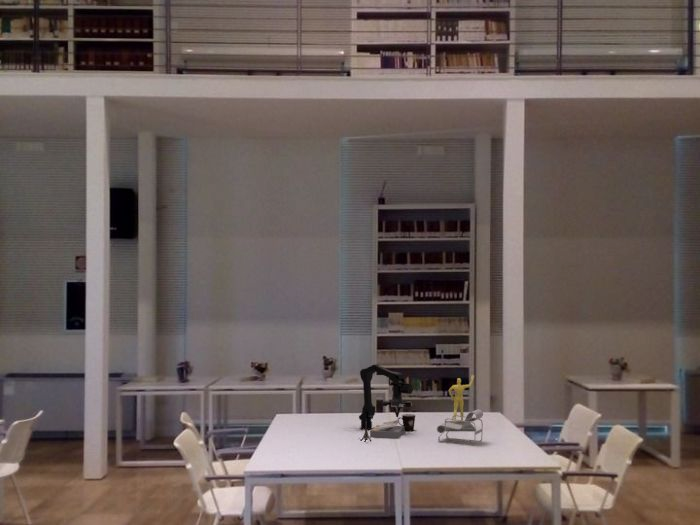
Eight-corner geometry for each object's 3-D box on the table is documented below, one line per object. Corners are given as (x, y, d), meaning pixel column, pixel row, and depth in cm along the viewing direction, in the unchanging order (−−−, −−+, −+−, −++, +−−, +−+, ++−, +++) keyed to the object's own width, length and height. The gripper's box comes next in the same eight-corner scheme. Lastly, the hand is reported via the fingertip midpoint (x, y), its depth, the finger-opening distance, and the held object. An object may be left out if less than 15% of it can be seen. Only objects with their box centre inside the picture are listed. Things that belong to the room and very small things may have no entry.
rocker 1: (383, 425, 515) (382, 423, 515) (384, 424, 518) (384, 422, 519) (398, 422, 512) (397, 420, 512) (399, 421, 516) (399, 419, 516)
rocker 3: (378, 429, 501) (378, 427, 501) (380, 428, 505) (379, 426, 505) (394, 426, 499) (393, 424, 499) (395, 425, 503) (395, 423, 503)
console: (370, 437, 500) (370, 428, 500) (377, 431, 522) (377, 422, 522) (398, 438, 496) (398, 429, 496) (404, 432, 517) (404, 423, 517)
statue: (472, 426, 541) (471, 373, 542) (477, 431, 521) (477, 376, 522) (442, 426, 540) (441, 373, 541) (446, 431, 521) (446, 376, 522)
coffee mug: (415, 429, 528) (415, 414, 528) (415, 431, 519) (415, 416, 519) (397, 429, 529) (397, 413, 529) (397, 431, 520) (397, 416, 521)
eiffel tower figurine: (359, 439, 498) (359, 417, 498) (375, 439, 496) (375, 418, 496) (354, 443, 483) (354, 421, 483) (371, 444, 481) (371, 422, 481)
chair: (476, 446, 474) (476, 412, 475) (436, 442, 486) (436, 409, 486) (483, 442, 486) (483, 409, 487) (444, 438, 498) (444, 406, 498)
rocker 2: (381, 427, 508) (380, 425, 508) (382, 426, 512) (382, 424, 512) (396, 424, 506) (395, 422, 506) (397, 423, 509) (397, 421, 510)
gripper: (380, 393, 509) (380, 418, 509) (409, 395, 505) (409, 419, 505) (383, 391, 520) (383, 415, 520) (412, 392, 516) (412, 417, 515)
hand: (397, 417), depth 515 cm, fingers closed
